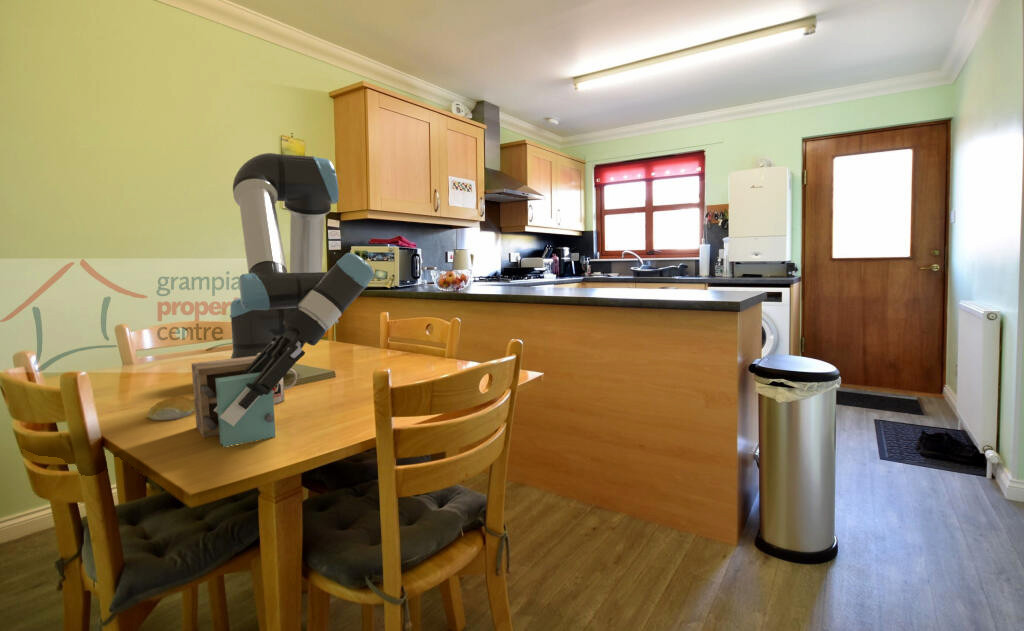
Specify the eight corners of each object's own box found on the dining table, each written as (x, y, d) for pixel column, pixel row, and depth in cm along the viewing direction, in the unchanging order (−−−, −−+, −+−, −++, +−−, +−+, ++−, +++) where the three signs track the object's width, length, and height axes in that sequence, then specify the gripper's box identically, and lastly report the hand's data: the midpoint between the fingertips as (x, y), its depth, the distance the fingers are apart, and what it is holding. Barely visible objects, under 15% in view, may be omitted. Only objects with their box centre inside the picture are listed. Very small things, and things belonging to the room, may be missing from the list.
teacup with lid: (245, 409, 115) (242, 358, 114) (240, 400, 123) (237, 352, 122) (302, 401, 122) (299, 352, 121) (294, 393, 130) (291, 347, 128)
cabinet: (196, 427, 103) (191, 363, 102) (261, 415, 111) (257, 355, 109) (210, 446, 92) (205, 375, 91) (281, 432, 100) (277, 365, 98)
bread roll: (199, 408, 118) (198, 390, 117) (188, 419, 109) (187, 400, 109) (157, 411, 115) (155, 394, 115) (142, 423, 107) (141, 404, 106)
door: (220, 442, 94) (215, 378, 93) (270, 432, 100) (266, 371, 98) (225, 449, 91) (220, 382, 90) (277, 438, 96) (273, 375, 95)
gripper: (343, 336, 97) (253, 441, 88) (310, 327, 110) (229, 418, 101) (312, 309, 93) (215, 417, 84) (283, 304, 106) (196, 396, 97)
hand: (223, 417), depth 93 cm, fingers open, 5 cm apart
